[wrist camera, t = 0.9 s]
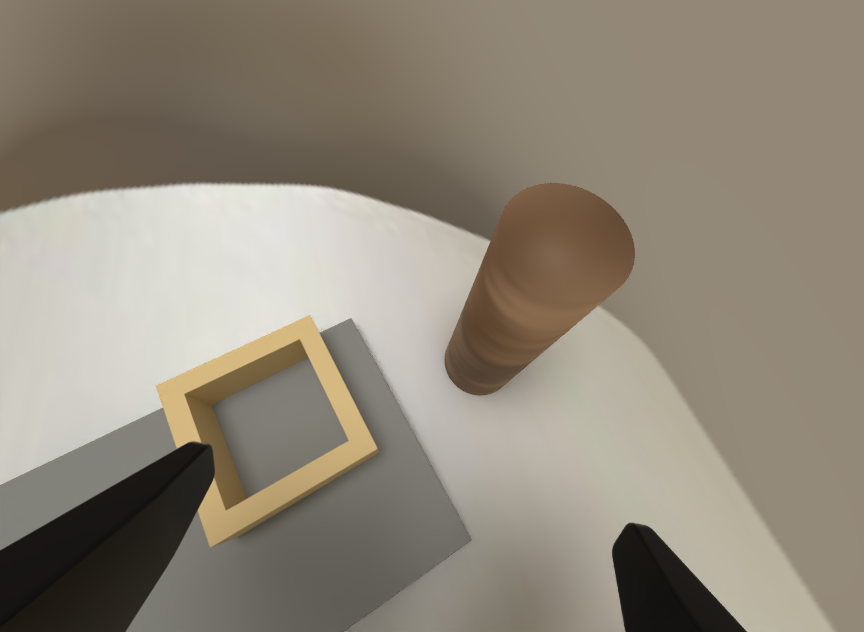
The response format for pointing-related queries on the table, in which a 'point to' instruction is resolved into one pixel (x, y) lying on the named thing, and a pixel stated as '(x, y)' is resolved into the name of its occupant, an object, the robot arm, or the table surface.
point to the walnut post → (537, 282)
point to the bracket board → (272, 489)
